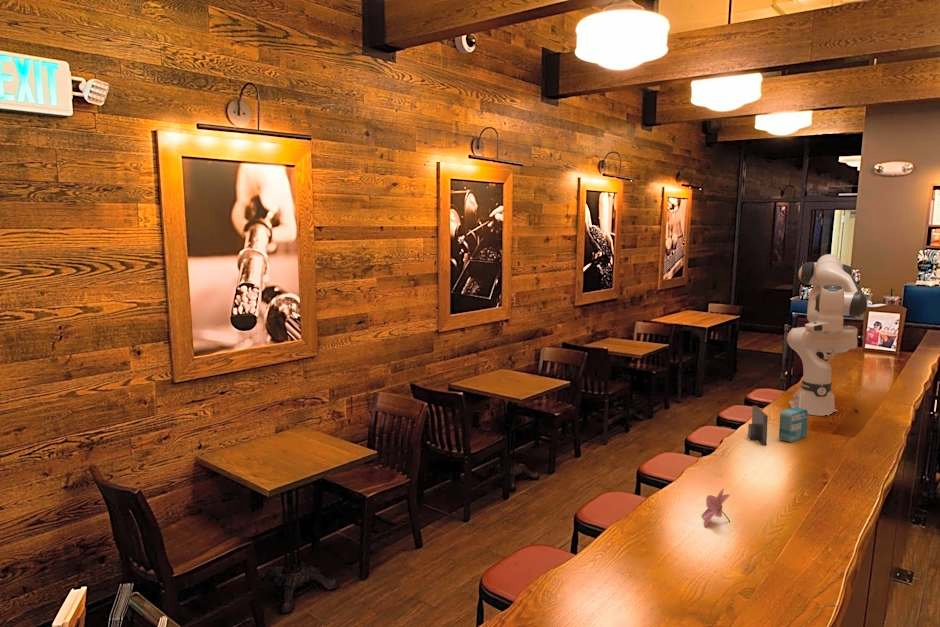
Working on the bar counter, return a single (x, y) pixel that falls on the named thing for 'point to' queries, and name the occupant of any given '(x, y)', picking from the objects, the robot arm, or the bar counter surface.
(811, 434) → the bar counter surface
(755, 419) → the bookend
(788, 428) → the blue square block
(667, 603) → the bar counter surface
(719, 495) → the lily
